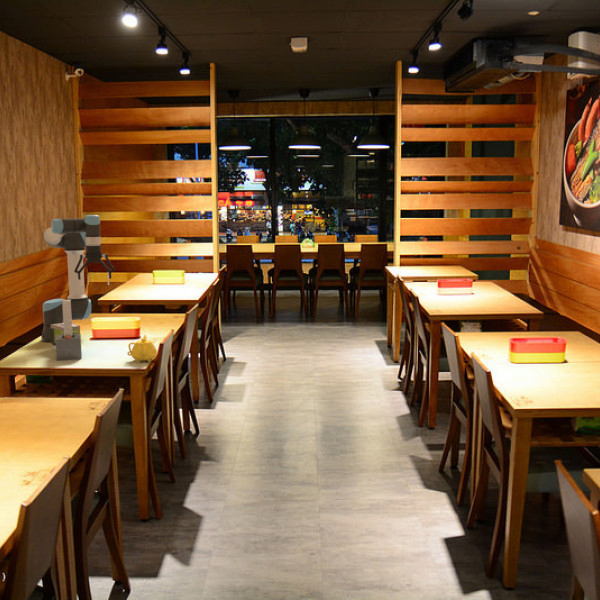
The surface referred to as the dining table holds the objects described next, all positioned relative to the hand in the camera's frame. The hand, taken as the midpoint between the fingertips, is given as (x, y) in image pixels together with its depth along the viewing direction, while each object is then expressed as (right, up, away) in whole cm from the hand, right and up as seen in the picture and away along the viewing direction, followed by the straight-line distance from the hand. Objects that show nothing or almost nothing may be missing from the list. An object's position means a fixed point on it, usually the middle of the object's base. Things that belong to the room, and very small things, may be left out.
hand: (95, 285), depth 367 cm
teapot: (+27, -39, -9) cm, 48 cm away
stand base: (-11, -38, -7) cm, 40 cm away
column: (-11, -31, -9) cm, 34 cm away
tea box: (-19, -36, +11) cm, 42 cm away
